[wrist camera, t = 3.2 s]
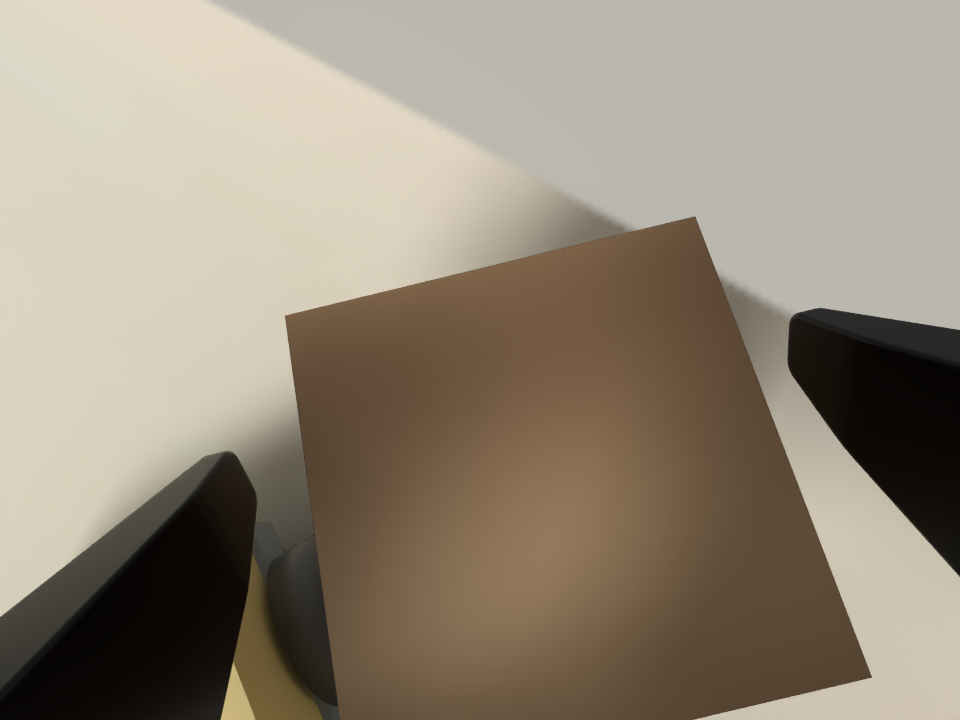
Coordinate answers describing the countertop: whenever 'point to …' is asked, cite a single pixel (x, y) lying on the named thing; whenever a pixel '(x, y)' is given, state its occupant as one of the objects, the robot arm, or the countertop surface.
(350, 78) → the countertop surface
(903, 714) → the countertop surface
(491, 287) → the walnut block
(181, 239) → the countertop surface
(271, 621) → the toy chassis
